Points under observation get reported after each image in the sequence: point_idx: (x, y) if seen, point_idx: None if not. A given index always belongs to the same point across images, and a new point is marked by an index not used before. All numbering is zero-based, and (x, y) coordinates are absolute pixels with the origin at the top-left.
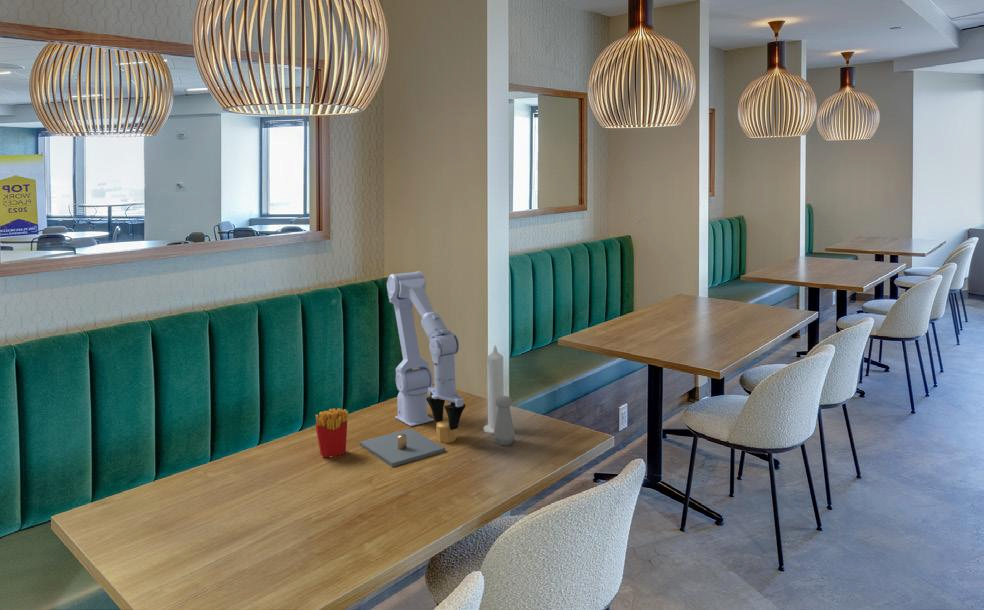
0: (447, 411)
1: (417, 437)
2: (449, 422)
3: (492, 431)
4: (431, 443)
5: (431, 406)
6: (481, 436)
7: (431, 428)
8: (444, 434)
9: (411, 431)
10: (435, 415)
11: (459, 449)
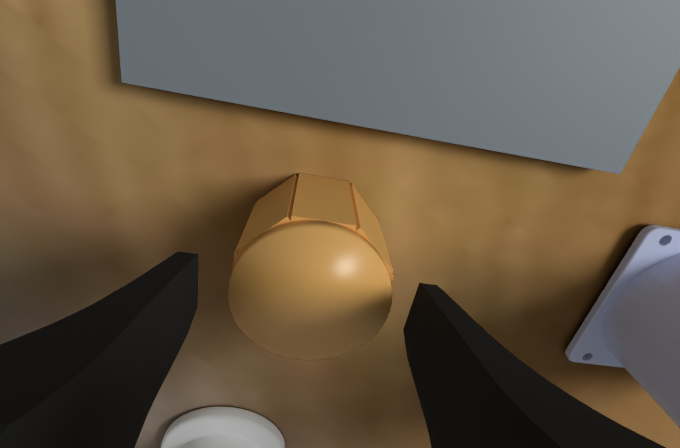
0: (24, 375)
1: (459, 83)
2: (153, 284)
3: (187, 424)
4: (275, 71)
5: (521, 385)
6: (204, 368)
7: (508, 283)
8: (266, 214)
9: (578, 140)
10: (441, 322)
11: (110, 176)
